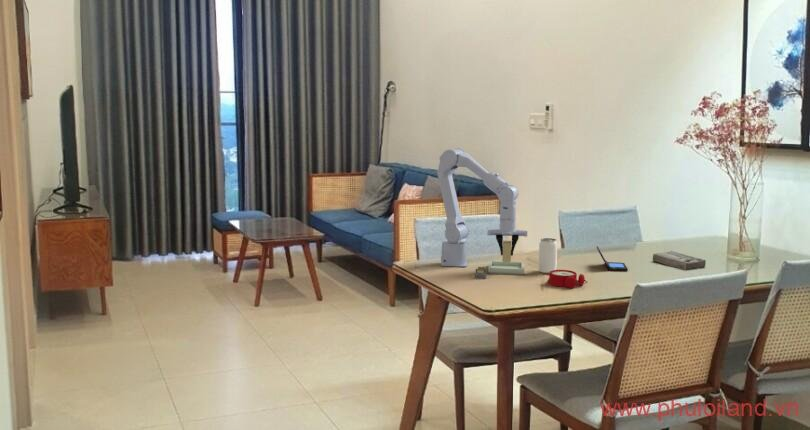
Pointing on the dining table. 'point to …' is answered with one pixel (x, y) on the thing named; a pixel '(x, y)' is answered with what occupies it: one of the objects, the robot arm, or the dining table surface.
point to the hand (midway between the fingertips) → (506, 255)
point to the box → (679, 260)
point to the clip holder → (480, 273)
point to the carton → (506, 251)
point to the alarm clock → (565, 278)
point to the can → (547, 255)
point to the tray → (506, 267)
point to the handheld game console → (613, 265)
